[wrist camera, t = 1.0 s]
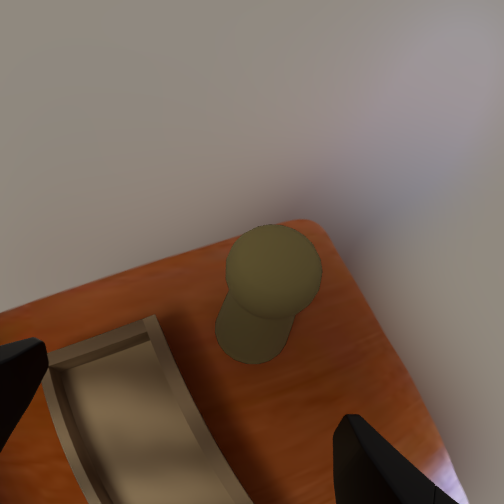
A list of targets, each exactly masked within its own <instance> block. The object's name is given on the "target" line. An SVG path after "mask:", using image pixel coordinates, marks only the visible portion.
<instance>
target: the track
mask: <svg viewBox="0 0 504 504" xmlns="http://www.w3.org/2000/svg"><path fill="white" fill-rule="evenodd" d="M47 355H48V360H49V367H48V370H47V372H46V374H45V376H44V377H43V379H42V381H41V382H42V386H43V390H44V394H45V397H46V401H47V404H48V408H49V411H50V414H51V417H52V420H53V423H54V426H55V429H56V432H57V435H58V437H59V440H60V443H61V445H62V448H63V450H64V453H65V455H66V458H67V460H68V462H69V465H70V467H71V469H72V471H73V473H74V476H75V478H76V480H77V482H78V484H79V486H80V488H81V490H82V492H83V494H84V496H85V497H86V499H87V501H88V503H89V504H254V502H253V501H252V500H251V498H250V497H249V495H248V494H247V492H246V491H245V489H244V488H243V486H242V484H241V483H240V481H239V480H238V478H237V477H236V475H235V473H234V472H233V470H232V469H231V467H230V465H229V464H228V462H227V460H226V459H225V457H224V455H223V453H222V452H221V450H220V448H219V447H218V445H217V443H216V441H215V439H214V438H213V436H212V434H211V432H210V430H209V429H208V427H207V425H206V423H205V421H204V419H203V417H202V415H201V413H200V412H199V410H198V408H197V406H196V404H195V402H194V400H193V398H192V396H191V394H190V392H189V390H188V387H187V385H186V383H185V381H184V379H183V377H182V375H181V373H180V370H179V368H178V366H177V364H176V361H175V359H174V357H173V355H172V352H171V350H170V348H169V345H168V343H167V341H166V338H165V336H164V333H163V331H162V329H161V326H160V324H159V322H158V320H157V318H156V315H155V314H154V315H152V316H149V317H146V318H144V319H141V320H138V321H136V322H133V323H130V324H128V325H125V326H122V327H120V328H117V329H114V330H111V331H109V332H106V333H103V334H100V335H98V336H95V337H92V338H89V339H86V340H84V341H81V342H78V343H75V344H72V345H70V346H67V347H64V348H61V349H58V350H55V351H52V352H50V353H47Z"/></svg>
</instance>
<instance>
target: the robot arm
mask: <svg viewBox="0 0 504 504" xmlns="http://www.w3.org/2000/svg"><path fill="white" fill-rule="evenodd" d="M48 367H49V360H48V355H47V351H46V346H45V343H44V342H43V341H41V340H39V339H37V338H34V337H32V338H28V339H24V340H20V341H17V342H13V343H9V344H5V345H1V346H0V452H1V451H2V449H3V447H4V445H5V444H6V442H7V440H8V438H9V437H10V435H11V433H12V432H13V430H14V428H15V427H16V425H17V423H18V422H19V420H20V419H21V417H22V415H23V414H24V412H25V411H26V409H27V408H28V406H29V404H30V402H31V401H32V399H33V397H34V395H35V393H36V391H37V389H38V387H39V385H40V383H41V381H42V379H43V377H44V376H45V374H46V372H47V370H48ZM333 477H334V489H335V497H336V504H459V503H457V502H456V501H455V500H453V499H452V498H451V497H450V496H448V495H447V494H446V493H445V492H443V491H442V490H441V489H440V488H439V487H438V486H435V484H434V483H433V482H432V481H431V480H429V479H428V478H427V477H426V476H425V475H424V474H423V473H422V472H420V471H419V470H418V469H417V468H416V467H415V466H414V465H413V464H412V463H410V462H409V461H408V460H407V459H406V458H405V457H404V456H403V455H402V454H401V453H399V452H398V451H397V450H396V449H395V448H394V447H393V446H392V445H391V444H390V443H389V442H388V441H386V440H385V439H384V438H383V437H382V436H381V435H380V434H379V433H378V432H377V431H376V430H375V429H374V428H373V427H372V426H371V425H370V424H369V423H367V422H366V421H365V420H364V419H363V418H362V417H361V416H360V415H358V414H346V415H345V416H344V417H343V418H342V420H341V421H340V423H339V425H338V427H337V428H336V430H335V432H334V435H333Z"/></svg>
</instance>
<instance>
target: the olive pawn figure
mask: <svg viewBox="0 0 504 504" xmlns="http://www.w3.org/2000/svg"><path fill="white" fill-rule="evenodd" d="M321 277H322V266H321V260H320V257H319V255H318V253H317V251H316V249H315V247H314V245H313V244H312V243H311V242H310V241H309V240H308V239H307V238H306V237H305V236H304V235H303V234H301V233H299V232H298V231H296V230H295V229H292V228H289V227H286V226H283V225H272V224H269V225H263V226H258V227H256V228H254V229H252V230H250V231H248V232H246V233H244V234H243V235H242V236H241V237H240V238H239V239H238V240H237V241H236V242H235V243H234V244H233V246H232V248H231V250H230V252H229V255H228V257H227V259H226V281H227V284H228V287H229V291H228V294H227V296H226V298H225V300H224V303H223V305H222V307H221V310H220V312H219V314H218V317H217V319H216V323H215V334H216V337H217V340H218V343H219V345H220V346H221V348H222V349H223V350H224V352H225V353H226V354H228V355H229V356H230V357H232V358H233V359H234V360H237V361H240V362H243V363H246V364H260V363H263V362H267V361H270V360H271V359H273V358H274V357H275V356H277V355H278V354H279V353H280V352H281V350H282V349H283V348H284V346H285V344H286V342H287V339H288V336H289V333H290V330H291V327H292V324H293V321H294V318H295V315H296V314H297V313H299V312H300V311H302V310H303V309H304V308H306V307H307V306H308V305H309V304H310V303H311V301H312V300H313V298H314V297H315V295H316V294H317V292H318V291H319V287H320V282H321Z"/></svg>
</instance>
